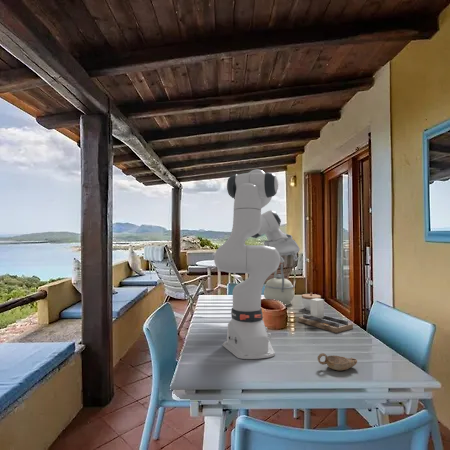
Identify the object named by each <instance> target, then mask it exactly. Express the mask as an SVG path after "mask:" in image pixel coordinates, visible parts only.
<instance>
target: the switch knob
mask: <svg viewBox="0 0 450 450" xmlns="http://www.w3.org/2000/svg"><path fill="white" fill-rule="evenodd" d="M310 315H311V316H314V317H318V318H321V319H322V318H324V315H325V298H324V299H323V298H321V299H319V298H315V299H311V311H310Z"/></svg>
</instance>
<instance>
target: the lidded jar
mask: <svg viewBox="0 0 450 450" xmlns="http://www.w3.org/2000/svg"><path fill="white" fill-rule="evenodd" d="M315 298H319V299H322V295H320V294H316V293H314V294H313V292H310V293H304V294H302V295H301V304H302V306H303V307H304V309H305V310H306V311H310V312H311V299H315Z"/></svg>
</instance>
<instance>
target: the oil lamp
mask: <svg viewBox="0 0 450 450" xmlns="http://www.w3.org/2000/svg"><path fill="white" fill-rule="evenodd" d="M322 357H325V358H324V359H325V360H324V361H321V359H322ZM317 361H318V363H319V364H320V365H322V366H323V365H327V367H328V368H329V369H332V370H335V371H337V372H338V371H347V370H349V369H350V368H351V369H352V368H353V367H354V366H356V365H357V364H358V359H357V358H354V357H350V358H349V357H345V356H340V355H327V354H326V353H323V352H321V353H319V355H317Z"/></svg>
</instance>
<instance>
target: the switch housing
mask: <svg viewBox="0 0 450 450" xmlns="http://www.w3.org/2000/svg"><path fill="white" fill-rule="evenodd" d="M298 323H302V324H304V325H307V326H308V325H309V326H312V327H315V328H318V329H319V328H320V329H323V330H325V331H329V332H332V333H335V334H338V333H341V332H345V331H349V330H351V329H354V324H353V323H350V322H349V320H346V319H343V318H342V319H341V318H337V317H335V316H334V317H333V316H329V315H326V314H324V318H322V319H321V318H318V317H314V316H311V314H306V313H303V314H302V316H299V317H298Z"/></svg>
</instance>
